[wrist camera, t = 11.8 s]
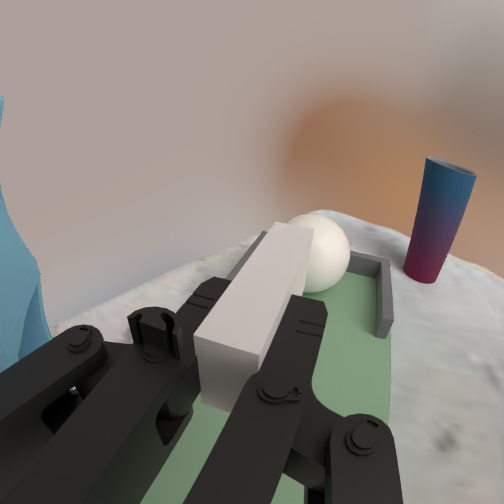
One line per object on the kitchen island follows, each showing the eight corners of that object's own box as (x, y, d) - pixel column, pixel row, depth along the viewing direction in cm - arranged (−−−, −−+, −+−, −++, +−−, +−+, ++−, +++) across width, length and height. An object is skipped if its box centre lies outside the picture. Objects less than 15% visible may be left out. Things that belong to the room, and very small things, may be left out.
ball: (371, 229, 29) (350, 302, 30) (312, 214, 35) (295, 279, 36) (333, 215, 24) (308, 306, 25) (266, 200, 29) (247, 277, 30)
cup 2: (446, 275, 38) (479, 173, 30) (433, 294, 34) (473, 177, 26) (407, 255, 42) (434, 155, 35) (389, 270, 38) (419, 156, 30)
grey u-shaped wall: (385, 339, 25) (393, 320, 24) (224, 298, 29) (225, 278, 28) (383, 276, 34) (389, 259, 33) (261, 247, 38) (263, 230, 37)
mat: (343, 603, 7) (351, 603, 6) (76, 507, 11) (68, 502, 11) (384, 281, 35) (387, 272, 35) (259, 251, 40) (260, 243, 39)
